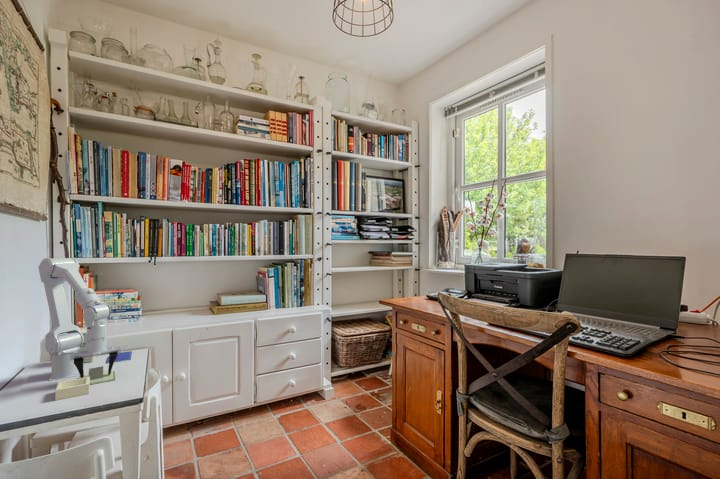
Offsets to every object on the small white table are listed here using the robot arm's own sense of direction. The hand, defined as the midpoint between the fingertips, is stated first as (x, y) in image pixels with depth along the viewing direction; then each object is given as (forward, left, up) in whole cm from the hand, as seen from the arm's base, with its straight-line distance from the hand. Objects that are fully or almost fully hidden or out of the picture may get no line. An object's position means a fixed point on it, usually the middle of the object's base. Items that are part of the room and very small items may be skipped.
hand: (96, 376), depth 120 cm
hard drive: (-24, +7, -2) cm, 25 cm away
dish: (+10, -6, -1) cm, 11 cm away
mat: (0, 0, -1) cm, 1 cm away
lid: (0, 0, -1) cm, 1 cm away
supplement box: (-30, -5, -2) cm, 30 cm away
